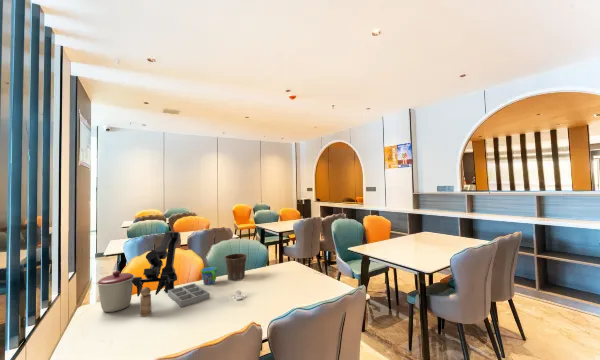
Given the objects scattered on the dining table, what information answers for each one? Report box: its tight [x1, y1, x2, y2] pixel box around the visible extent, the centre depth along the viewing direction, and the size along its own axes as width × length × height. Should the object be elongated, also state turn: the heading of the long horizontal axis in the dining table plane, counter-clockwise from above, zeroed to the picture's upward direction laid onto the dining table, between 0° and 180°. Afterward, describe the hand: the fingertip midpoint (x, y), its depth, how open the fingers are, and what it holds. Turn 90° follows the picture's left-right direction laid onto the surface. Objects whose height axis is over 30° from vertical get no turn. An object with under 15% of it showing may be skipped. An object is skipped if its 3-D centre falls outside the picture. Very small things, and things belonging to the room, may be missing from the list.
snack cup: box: [200, 266, 218, 286], centre depth 184 cm, size 16×10×10 cm
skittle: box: [139, 286, 152, 318], centre depth 140 cm, size 5×5×14 cm
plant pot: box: [224, 253, 248, 281], centre depth 194 cm, size 16×16×16 cm
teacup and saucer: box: [231, 289, 246, 301], centre depth 157 cm, size 9×8×4 cm
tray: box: [167, 282, 211, 309], centre depth 161 cm, size 24×16×4 cm
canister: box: [96, 270, 136, 313], centre depth 149 cm, size 18×18×21 cm
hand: (146, 295), depth 141 cm, fingers open, 9 cm apart
